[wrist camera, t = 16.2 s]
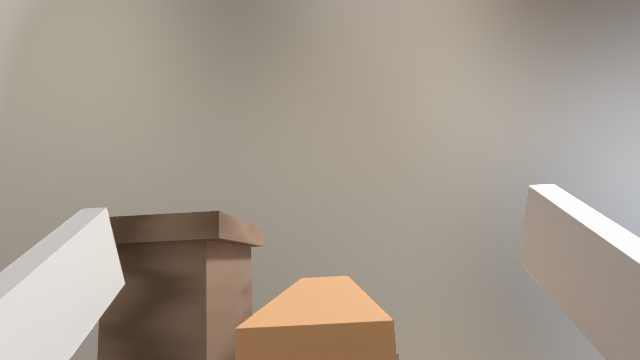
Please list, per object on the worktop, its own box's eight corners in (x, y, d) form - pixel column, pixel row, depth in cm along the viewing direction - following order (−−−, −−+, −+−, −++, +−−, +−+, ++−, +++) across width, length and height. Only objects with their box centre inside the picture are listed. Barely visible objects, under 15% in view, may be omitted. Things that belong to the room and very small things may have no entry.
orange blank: (236, 460, 10) (235, 328, 10) (302, 314, 35) (301, 278, 36) (404, 452, 10) (393, 320, 10) (349, 311, 35) (347, 275, 36)
